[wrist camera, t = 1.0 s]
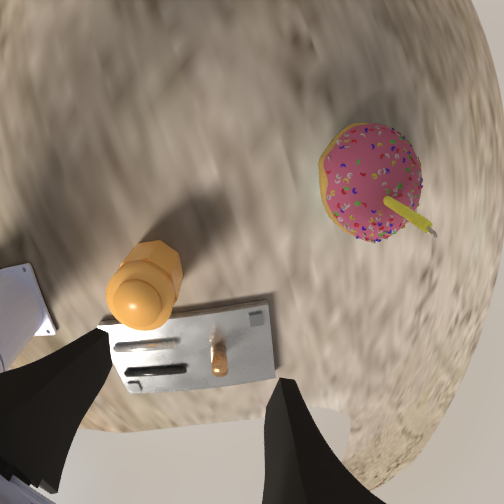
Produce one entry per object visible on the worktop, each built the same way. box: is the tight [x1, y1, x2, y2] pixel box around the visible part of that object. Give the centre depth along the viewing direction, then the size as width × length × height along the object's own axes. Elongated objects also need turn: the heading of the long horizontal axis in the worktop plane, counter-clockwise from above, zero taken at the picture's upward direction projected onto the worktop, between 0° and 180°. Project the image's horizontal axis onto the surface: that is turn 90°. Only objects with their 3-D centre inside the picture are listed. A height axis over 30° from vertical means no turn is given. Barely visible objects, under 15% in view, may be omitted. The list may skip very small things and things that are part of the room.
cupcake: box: [318, 123, 437, 243], centre depth 16 cm, size 9×8×12 cm
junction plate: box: [97, 300, 276, 393], centre depth 23 cm, size 16×9×4 cm, turn 97°
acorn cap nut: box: [106, 240, 183, 331], centre depth 19 cm, size 5×5×7 cm
